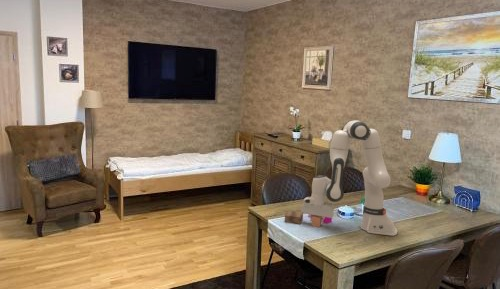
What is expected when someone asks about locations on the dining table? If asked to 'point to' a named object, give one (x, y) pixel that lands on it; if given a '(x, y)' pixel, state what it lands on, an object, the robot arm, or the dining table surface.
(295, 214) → the walnut base block
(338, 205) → the dining table surface
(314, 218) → the terracotta block
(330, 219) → the toy block
